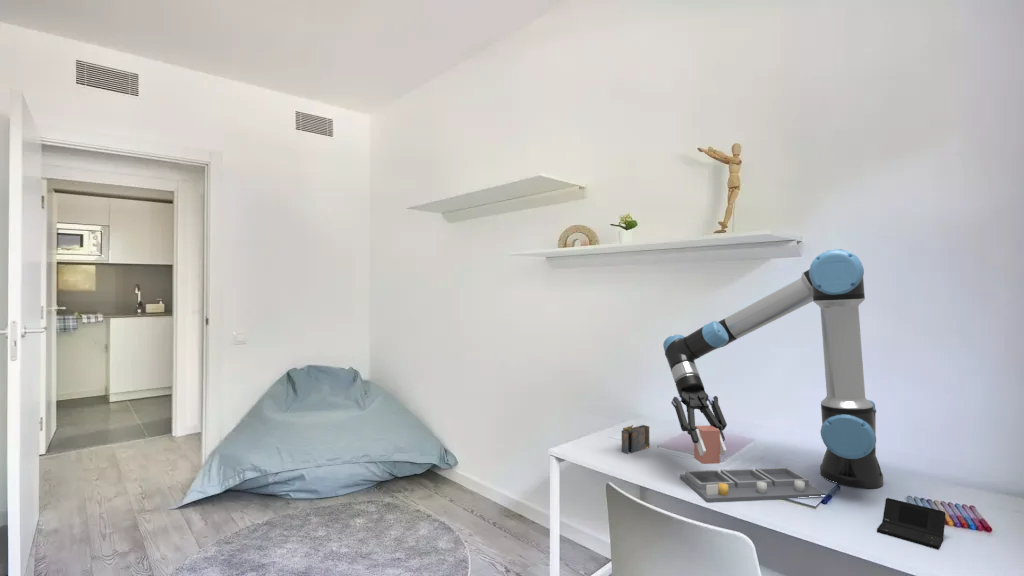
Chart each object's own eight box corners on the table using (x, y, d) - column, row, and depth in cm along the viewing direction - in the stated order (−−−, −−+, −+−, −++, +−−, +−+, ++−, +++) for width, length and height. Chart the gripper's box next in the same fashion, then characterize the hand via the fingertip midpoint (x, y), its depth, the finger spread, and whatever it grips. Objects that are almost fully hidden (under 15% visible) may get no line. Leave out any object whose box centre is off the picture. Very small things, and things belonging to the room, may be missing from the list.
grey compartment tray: (785, 473, 152) (785, 462, 152) (825, 497, 135) (825, 484, 135) (680, 477, 149) (680, 466, 149) (707, 502, 132) (707, 489, 132)
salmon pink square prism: (711, 457, 146) (711, 425, 146) (719, 463, 141) (720, 430, 141) (694, 457, 146) (694, 425, 146) (702, 463, 141) (702, 430, 141)
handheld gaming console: (876, 529, 114) (884, 486, 118) (875, 538, 119) (882, 496, 123) (944, 552, 107) (949, 506, 111) (939, 561, 112) (945, 516, 116)
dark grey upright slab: (628, 455, 170) (628, 426, 170) (621, 453, 173) (621, 424, 173) (650, 449, 177) (650, 420, 177) (643, 446, 180) (643, 418, 180)
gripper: (712, 387, 159) (740, 458, 143) (655, 388, 158) (676, 460, 142) (720, 373, 154) (750, 445, 138) (662, 373, 153) (685, 447, 136)
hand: (713, 452), depth 140 cm, fingers closed on salmon pink square prism, 5 cm apart
